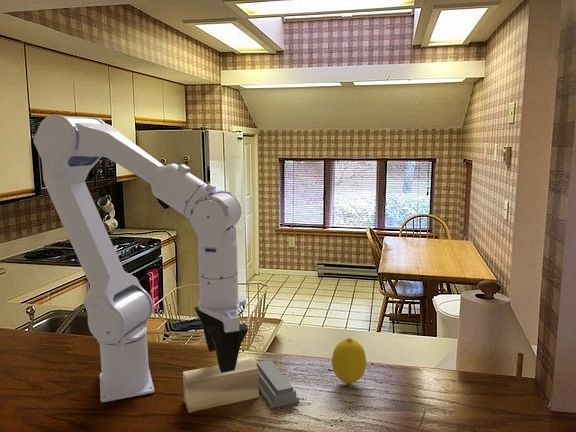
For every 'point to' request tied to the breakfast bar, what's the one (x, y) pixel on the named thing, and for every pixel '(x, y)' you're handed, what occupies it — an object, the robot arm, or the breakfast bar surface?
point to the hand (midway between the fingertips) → (221, 359)
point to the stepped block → (275, 385)
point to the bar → (220, 386)
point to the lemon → (349, 361)
